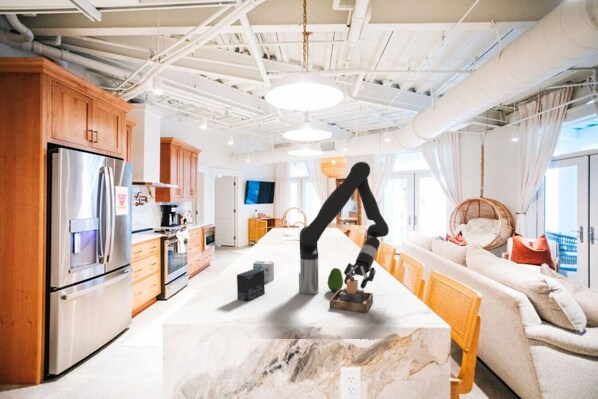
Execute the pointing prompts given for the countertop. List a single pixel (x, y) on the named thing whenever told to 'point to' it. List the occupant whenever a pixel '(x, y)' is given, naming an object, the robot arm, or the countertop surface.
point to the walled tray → (351, 305)
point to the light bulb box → (265, 269)
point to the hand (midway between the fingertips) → (353, 285)
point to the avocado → (335, 280)
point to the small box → (250, 284)
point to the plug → (352, 286)
